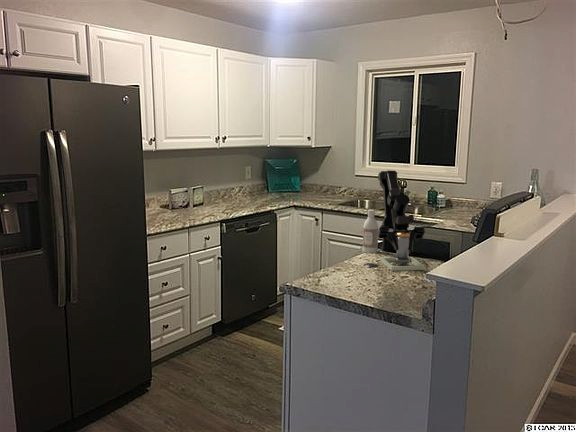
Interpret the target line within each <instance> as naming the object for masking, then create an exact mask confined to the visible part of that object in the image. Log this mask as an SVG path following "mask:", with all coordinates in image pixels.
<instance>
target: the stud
mask: <svg viewBox="0 0 576 432" xmlns="http://www.w3.org/2000/svg"><path fill="white" fill-rule="evenodd" d="M363 267H365V268H370V269H372V268H373V269H374V268H375V269H376V268H378V267H379V264H377V263H372V262H371V263H370V262H368V263H364V264H363Z"/></svg>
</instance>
